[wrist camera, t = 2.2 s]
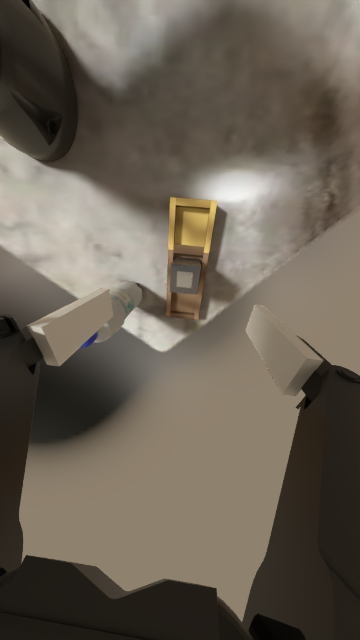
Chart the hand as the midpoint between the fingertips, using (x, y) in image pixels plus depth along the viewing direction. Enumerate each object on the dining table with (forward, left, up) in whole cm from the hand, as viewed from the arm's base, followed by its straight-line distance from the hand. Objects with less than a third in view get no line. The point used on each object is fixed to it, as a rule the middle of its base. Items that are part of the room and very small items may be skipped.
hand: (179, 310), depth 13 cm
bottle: (+7, -13, -22) cm, 26 cm away
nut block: (0, 0, -21) cm, 21 cm away
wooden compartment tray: (0, 0, -22) cm, 22 cm away
